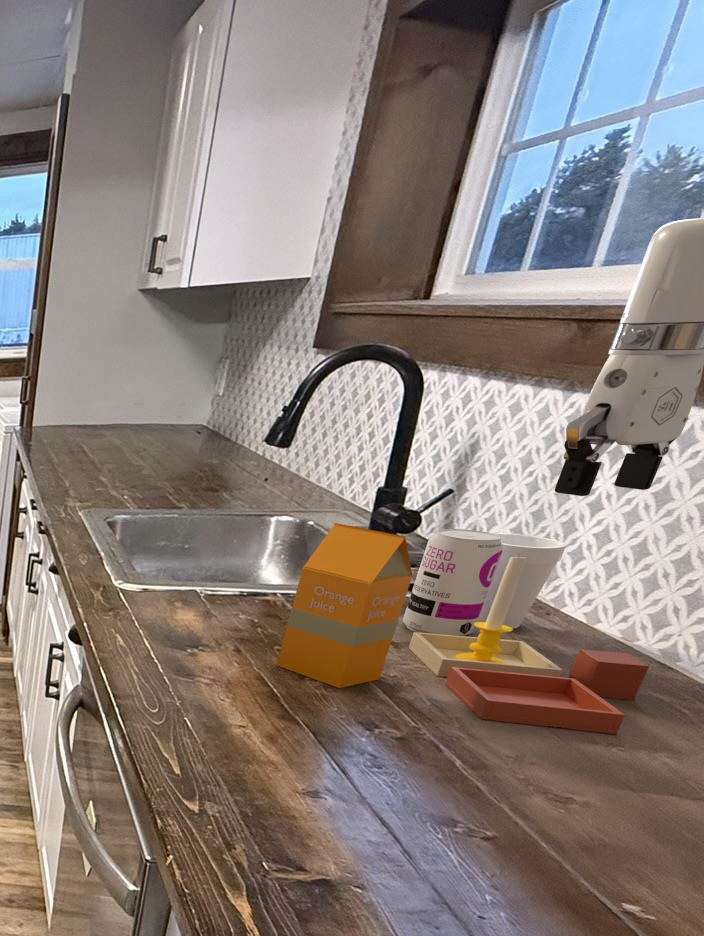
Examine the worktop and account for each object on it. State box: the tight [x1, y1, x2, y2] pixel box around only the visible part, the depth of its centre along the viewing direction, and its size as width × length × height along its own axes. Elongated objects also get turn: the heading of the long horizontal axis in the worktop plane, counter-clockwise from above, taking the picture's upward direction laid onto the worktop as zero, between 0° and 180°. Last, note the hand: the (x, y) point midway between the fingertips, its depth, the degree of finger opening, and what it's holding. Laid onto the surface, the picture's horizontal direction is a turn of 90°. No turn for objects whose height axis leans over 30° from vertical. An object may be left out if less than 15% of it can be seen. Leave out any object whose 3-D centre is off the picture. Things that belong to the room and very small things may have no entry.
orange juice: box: [276, 522, 414, 689], centre depth 110 cm, size 8×9×20 cm
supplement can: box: [402, 528, 503, 636], centre depth 123 cm, size 8×8×15 cm
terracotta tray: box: [444, 667, 626, 735], centre depth 101 cm, size 12×11×2 cm
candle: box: [455, 553, 526, 664], centre depth 110 cm, size 5×5×16 cm
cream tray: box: [408, 631, 564, 678], centre depth 113 cm, size 12×11×2 cm
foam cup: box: [477, 532, 567, 629], centre depth 126 cm, size 10×9×13 cm
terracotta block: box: [567, 648, 650, 701], centre depth 104 cm, size 5×5×5 cm
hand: (601, 491), depth 100 cm, fingers open, 9 cm apart
